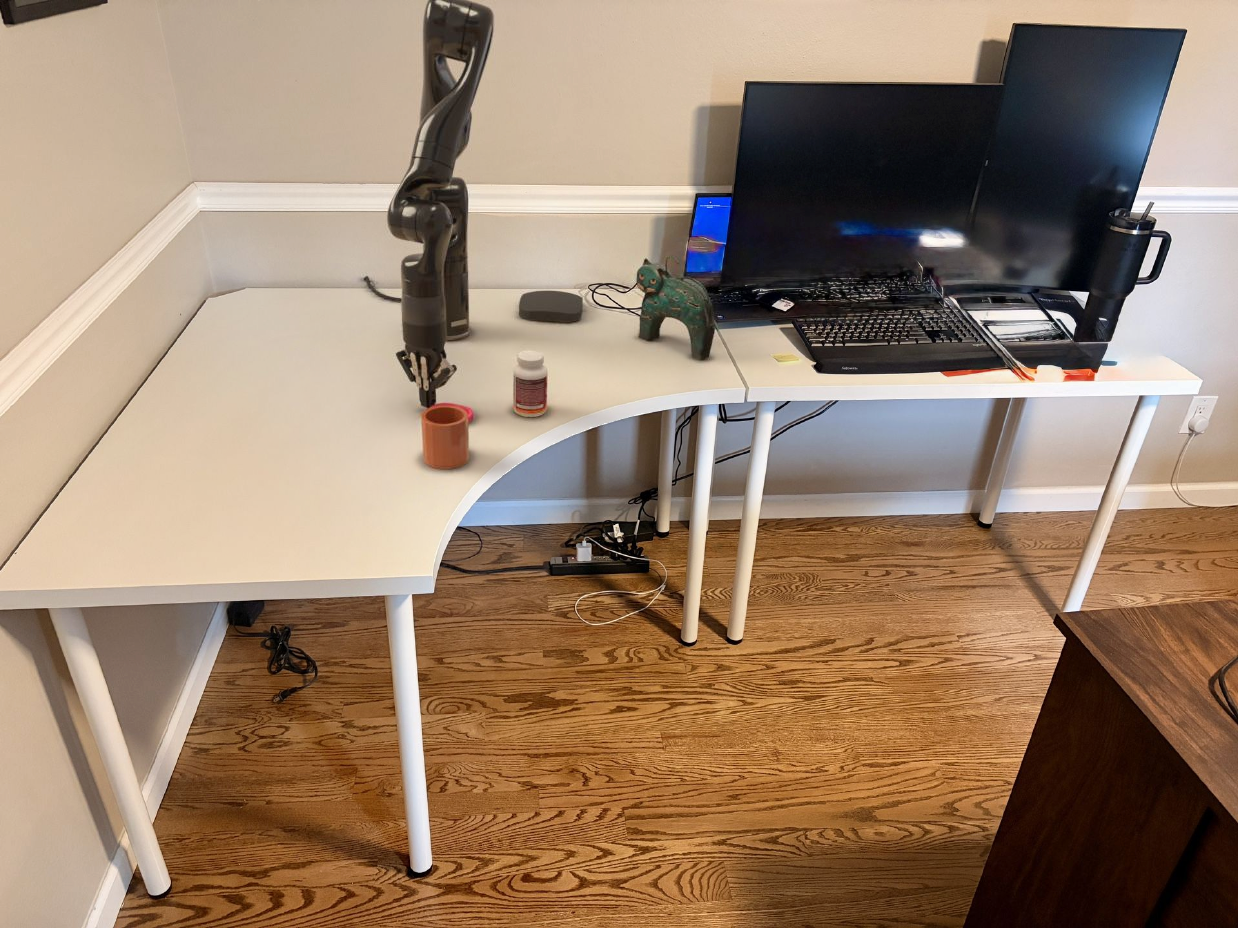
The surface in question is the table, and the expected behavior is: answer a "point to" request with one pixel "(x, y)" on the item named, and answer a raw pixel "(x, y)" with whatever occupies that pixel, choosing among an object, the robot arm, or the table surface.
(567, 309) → the media streaming box
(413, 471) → the table surface
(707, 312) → the ceramic cat
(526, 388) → the pill bottle
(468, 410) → the fitness band
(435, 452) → the clay pot
